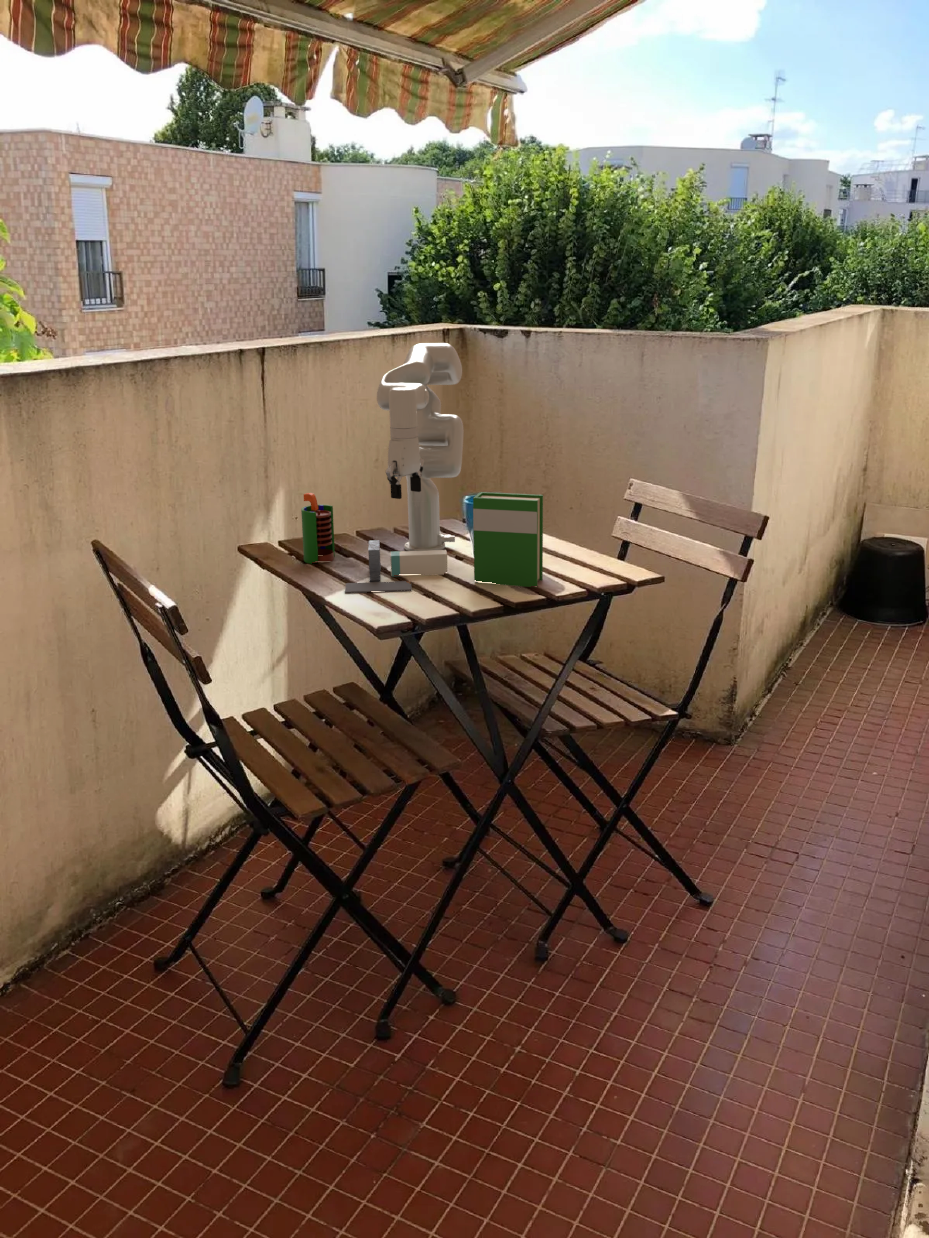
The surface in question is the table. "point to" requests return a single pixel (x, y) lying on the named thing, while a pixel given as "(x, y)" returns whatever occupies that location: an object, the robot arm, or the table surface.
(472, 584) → the table surface
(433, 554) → the white and teal box
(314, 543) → the motor
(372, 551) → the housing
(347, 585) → the mat
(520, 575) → the hardback book
